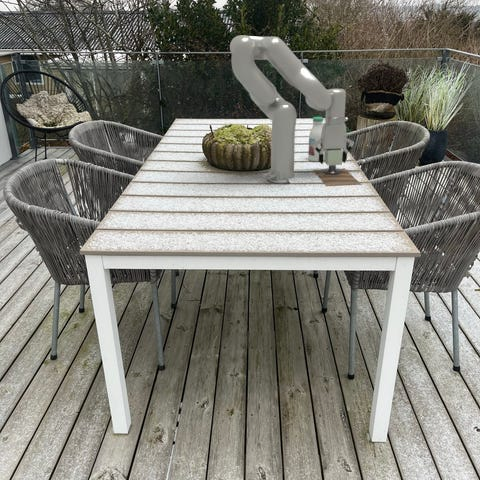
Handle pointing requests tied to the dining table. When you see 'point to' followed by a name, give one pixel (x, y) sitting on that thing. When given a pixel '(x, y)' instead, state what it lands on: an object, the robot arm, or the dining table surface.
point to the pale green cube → (333, 156)
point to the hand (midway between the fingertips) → (332, 162)
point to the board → (336, 176)
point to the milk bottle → (315, 139)
